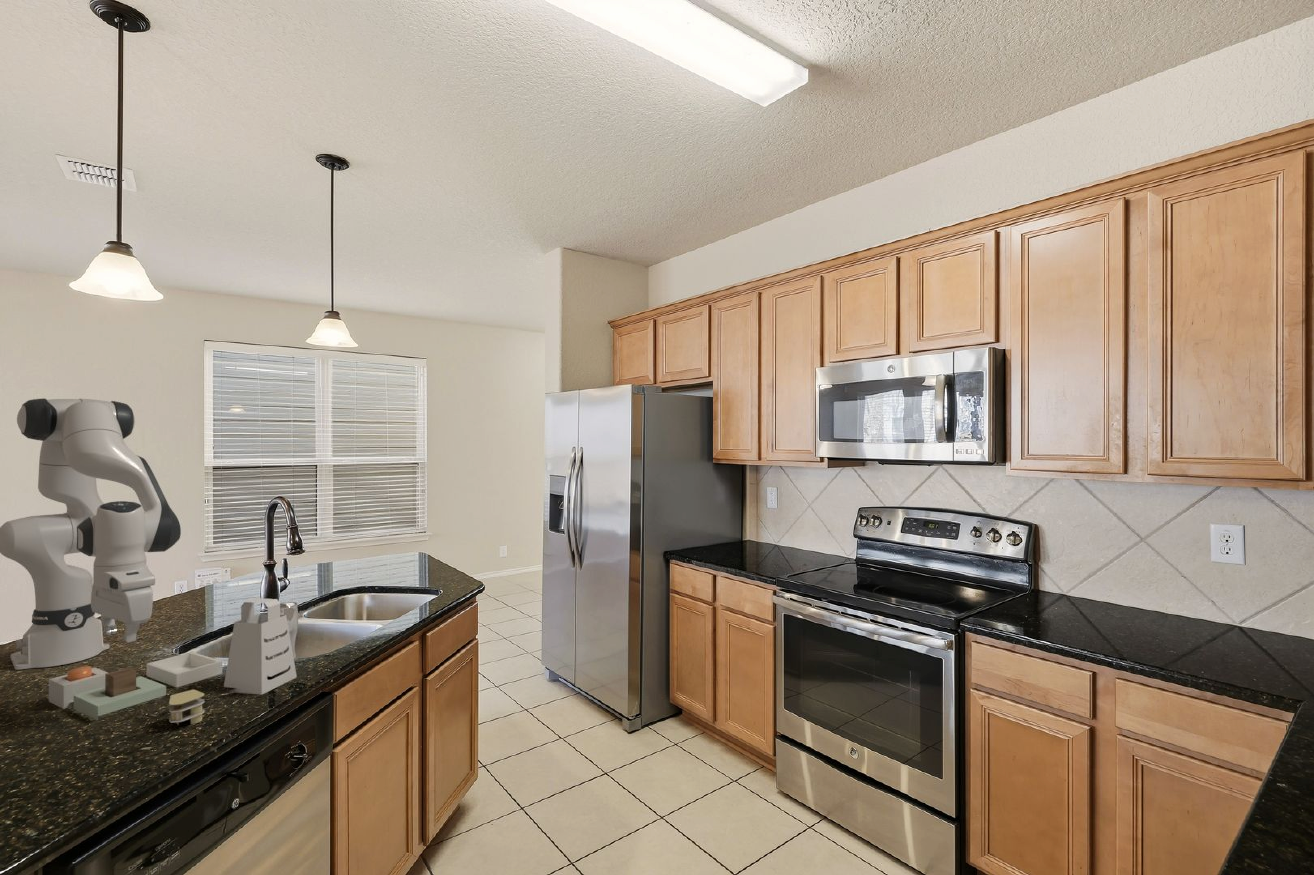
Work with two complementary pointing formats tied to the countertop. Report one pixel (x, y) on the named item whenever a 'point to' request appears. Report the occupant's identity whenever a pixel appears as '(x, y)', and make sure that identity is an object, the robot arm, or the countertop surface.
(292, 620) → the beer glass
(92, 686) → the button housing
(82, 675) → the button
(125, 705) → the pallet plate
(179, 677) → the tote
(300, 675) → the countertop surface
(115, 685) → the walnut block
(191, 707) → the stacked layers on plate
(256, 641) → the grater
